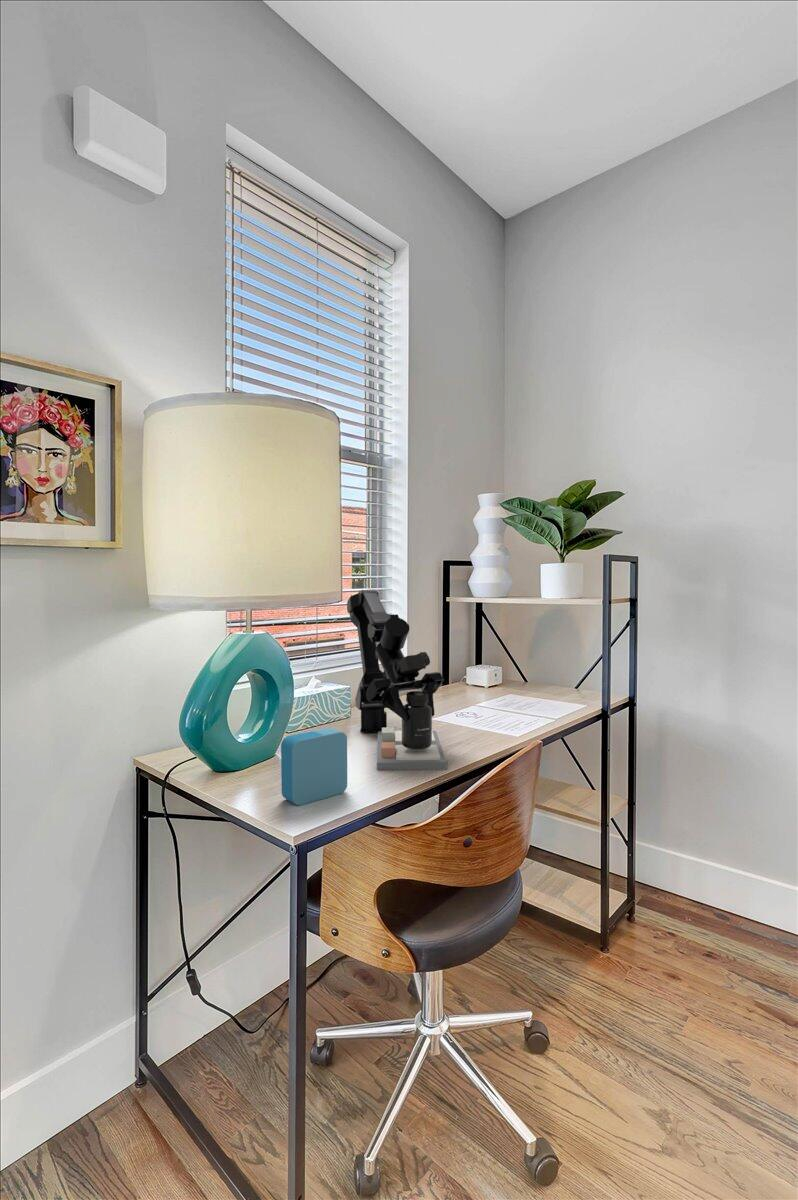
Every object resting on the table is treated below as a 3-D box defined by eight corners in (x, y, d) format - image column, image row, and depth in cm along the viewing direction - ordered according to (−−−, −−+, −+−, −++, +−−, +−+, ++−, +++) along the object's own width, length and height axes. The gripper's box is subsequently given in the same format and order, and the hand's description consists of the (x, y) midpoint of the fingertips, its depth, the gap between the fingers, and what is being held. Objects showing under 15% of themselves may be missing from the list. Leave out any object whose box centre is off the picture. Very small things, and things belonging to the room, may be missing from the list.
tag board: (376, 769, 130) (376, 753, 129) (378, 737, 156) (378, 723, 155) (446, 769, 130) (446, 753, 130) (436, 736, 156) (436, 723, 156)
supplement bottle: (423, 751, 132) (423, 697, 131) (396, 747, 135) (395, 694, 134) (437, 743, 138) (436, 691, 137) (410, 739, 141) (410, 688, 140)
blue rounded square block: (334, 786, 120) (334, 726, 119) (348, 792, 116) (347, 730, 116) (281, 800, 112) (280, 736, 112) (293, 807, 109) (292, 742, 108)
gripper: (372, 643, 133) (399, 702, 125) (439, 638, 143) (469, 692, 135) (354, 673, 140) (379, 731, 132) (420, 666, 150) (447, 719, 142)
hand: (420, 717), depth 135 cm, fingers closed on supplement bottle, 7 cm apart
